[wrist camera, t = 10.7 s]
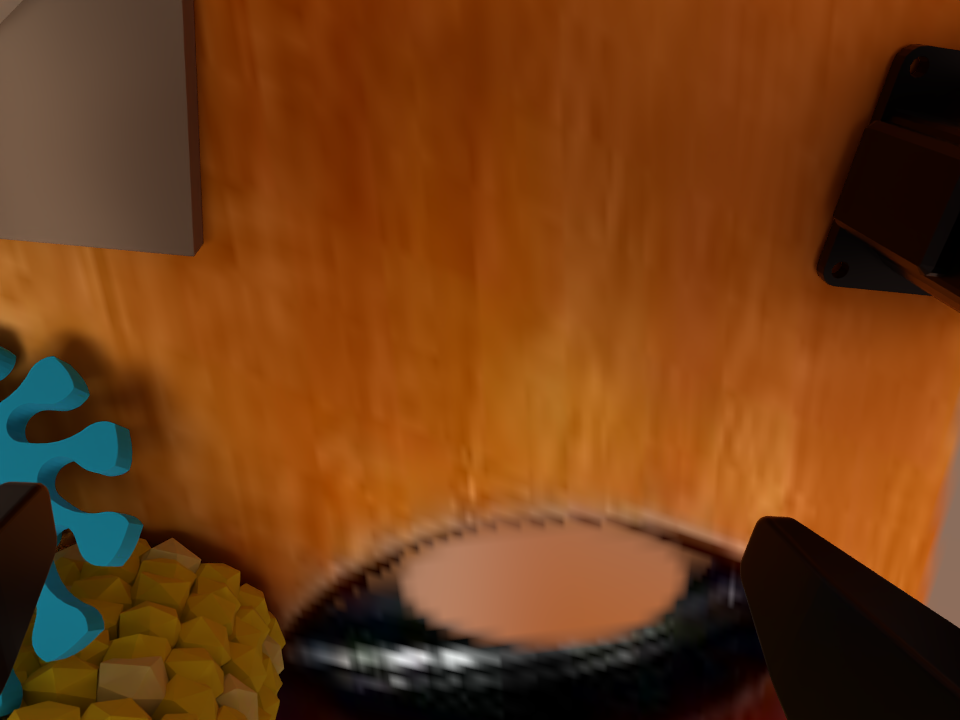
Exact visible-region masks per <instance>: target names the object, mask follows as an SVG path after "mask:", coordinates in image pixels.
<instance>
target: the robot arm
mask: <svg viewBox="0 0 960 720" xmlns="http://www.w3.org/2000/svg"><path fill="white" fill-rule="evenodd" d="M918 57H919V60H920V63H919V67H918V69H917V70H916V72H914V73H913V74H912V75H911V74H910V65H911V64H912V62H913V61H914V60H915V59H916V58H918ZM833 216H834V220H833V223H832V226H831V229H830V231H829V234H828V237H827V239H826V242H825V245H824V247H823V250H822V253H821V255H820V258H819V261H818V263H817V269H816V270H817V274H818V276H819V277H820V278H821V279H822V280H823V281H825V282H826V283H827V284H829V285H832V286H837V287H847V288H858V289H868V290H878V291H888V292H898V293H908V294H918V295H928V296H934V297H935V298H937V299H939V300H940V301H942V302H943V303H945V304H947V305H948V306H950V307H951V308H953V309H955V310H956V311H958V312H959V313H960V51H959V50H953V49H946V48H940V47H933V46H927V45H920V44H913V45H909V46H907V47H905V48H903V49H902V50H901V51H900V52H899V53H898V54H897V55H896V57H895V59H894V61H893V62H892V65H891V68H890V70H889V73H888V76H887V78H886V81H885V84H884V86H883V89H882V92H881V94H880V97H879V100H878V102H877V105H876V108H875V111H874V113H873V116H872V119H871V121H870V124H869V126H868V127H867V128H866V129H865V130H864V133H863V136H862V138H861V141H860V144H859V146H858V149H857V152H856V154H855V157H854V160H853V162H852V165H851V168H850V171H849V173H848V176H847V179H846V181H845V184H844V187H843V189H842V192H841V195H840V198H839V200H838V203H837V206H836V208H835V211H834V214H833ZM839 262H842V264H841V267H840V269H839V270H838V271H836V272H835V273H832V269H833V267H834V266H835V265H836V264H837V263H839ZM56 547H57V534H56V528H55V522H54V516H53V511H52V505H51V499H50V494H49V491H48V489H47V487H46V486H45V485H43V484H41V483H32V482H6V483H3V484H1V485H0V695H1V693H2V691H3V689H4V687H5V685H6V683H7V680H8V678H9V676H10V674H11V671H12V669H13V666H14V664H15V661H16V659H17V656H18V654H19V651H20V648H21V645H22V643H23V640H24V637H25V635H26V632H27V629H28V627H29V624H30V621H31V619H32V616H33V613H34V610H35V608H36V605H37V602H38V600H39V597H40V594H41V592H42V589H43V586H44V584H45V581H46V578H47V575H48V573H49V570H50V567H51V565H52V562H53V559H54V556H55V552H56ZM740 575H741V580H742V584H743V587H744V591H745V594H746V597H747V601H748V604H749V607H750V611H751V614H752V617H753V621H754V624H755V627H756V631H757V634H758V638H759V641H760V644H761V648H762V651H763V654H764V658H765V661H766V664H767V668H768V671H769V674H770V677H771V680H772V683H773V685H774V688H775V690H776V693H777V696H778V698H779V701H780V703H781V706H782V708H783V711H784V713H785V716H786V718H787V720H960V628H958V627H957V626H955V625H954V624H952V623H951V622H949V621H948V620H946V619H944V618H943V617H942V616H940V615H939V614H937V613H936V612H934V611H933V610H931V609H930V608H928V607H926V606H925V605H923V604H922V603H920V602H919V601H917V600H916V599H914V598H913V597H911V596H910V595H908V594H907V593H905V592H904V591H902V590H901V589H899V588H898V587H896V586H895V585H893V584H892V583H890V582H889V581H887V580H886V579H884V578H883V577H881V576H880V575H878V574H877V573H875V572H874V571H872V570H871V569H869V568H868V567H866V566H865V565H863V564H861V563H860V562H858V561H857V560H855V559H854V558H852V557H851V556H849V555H848V554H846V553H845V552H843V551H842V550H840V549H839V548H837V547H836V546H834V545H833V544H831V543H830V542H828V541H827V540H825V539H824V538H822V537H821V536H819V535H818V534H816V533H815V532H813V531H812V530H810V529H809V528H807V527H806V526H804V525H803V524H801V523H799V522H798V521H796V520H795V519H793V518H790V517H776V516H765V517H762V518H760V519H759V520H758V521H757V523H756V525H755V527H754V530H753V532H752V535H751V537H750V540H749V542H748V545H747V547H746V550H745V552H744V555H743V557H742V560H741V565H740Z"/></svg>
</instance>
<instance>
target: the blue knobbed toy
mask: <svg viewBox="0 0 960 720" xmlns="http://www.w3.org/2000/svg"><path fill="white" fill-rule="evenodd" d="M15 362H16V356H15V355H14V354H13V353H12V352H11V351H9V350H7V349H5V348H3V347H1V346H0V381H1V380H2V379H4V378H5V377H6V376H8V375H9V373H10V372H11V371H12V369H13V368H14V365H15ZM89 395H90V393H89V390H88V387H87V385H86V383H85V381H84V380H83V378H82V377H81V376H80V375H79V373H78V372H77V371H76V370H75V369H74V368H73V367H72V366H71V365H70V364H68V363H66V362H64V361H62V360H60V359H58V358H56V357H54V356H51V357H46V358H44V359H42V360H40V361H39V362H37V363H36V364H35V365H34V366H33V367H32V368H31V370H30V371H29V373H28V375H27V377H26V378H25V380H24V381H23V382H22V384H21V385H20V386H19V387H18V388H17V389H16V390H15V391H14V392H13V393H12V394H11V395H10V396H9V397H7V398H6V399H5V400H3V401H2V402H0V485H1V484H3V483H6V482H32V483H41V484H43V485H45V486H46V487H47V489H48V491H49V494H50V499H51V505H52V511H53V516H54V522H55V528H56V534H57V546H58V545H59V543H60V541H61V538H62V531H64V530H66V529H68V528H69V529H70V530H71V531H72V532H73V534H74V536H75V539H76V542H77V545H78V548H79V551H80V553H81V555H82V557H83V558H84V559H85V560H86V561H87V562H89V563H90V564H93V565H96V566H114V567H117V566H123V565H124V564H125V562H126V561H127V560H128V559H129V557H130V556H131V554H132V552H133V551H134V549H135V547H136V544H137V542H138V540H139V537H140V534H141V531H142V528H143V524H142V523H141V521H140V520H139V519H137V518H136V517H134V516H131V515H128V514H122V513H117V512H101V513H86V512H84V511H81V510H79V509H77V508H76V507H74V506H73V505H71V504H70V503H69V502H67V501H66V500H65V499H63V498H62V497H61V496H60V495H59V494H58V493H57V491H56V488H55V480H56V476H57V474H58V472H59V471H60V470H61V468H62V467H64V466H65V465H66V464H68V463H70V462H76V463H77V464H78V465H80V466H81V467H82V468H84V469H86V470H88V471H91V472H95V473H99V474H102V475H106V476H118V475H121V474H124V473H126V472H127V471H129V470H130V466H131V462H132V443H131V437H130V432H129V429H126V428H124V427H122V426H119V425H117V424H114V423H111V422H107V421H101V422H96V423H94V424H91V425H89V426H88V427H86V428H85V429H84V430H82V431H81V432H79V433H77V434H75V435H73V436H71V437H69V438H67V439H64V440H61V441H57V442H52V443H29V442H28V440H27V439H26V435H25V429H26V425H27V423H28V421H29V420H30V418H31V417H32V416H34V415H35V414H36V413H38V412H40V411H44V410H55V411H69V410H73V409H75V408H77V407H79V406H81V405H82V404H83V403H84V402H85V401H86V400H87V399H88V397H89ZM36 607H37V614H36V619H35V624H34V628H33V633H32V645H33V648H34V651H35V652H36V654H37V655H38V656H39V657H40V658H41V659H42V660H44V661H46V662H50V661H55V660H60V659H65V658H68V657H70V656H72V655H75V654H76V653H78V652H79V651H81V650H82V649H84V648H85V647H86V646H87V645H89V644H90V643H91V642H92V641H93V640H94V639H95V638H96V637H97V636H98V635H99V634H100V633H101V632H102V631H103V630H104V620H103V618H102V615H101V614H100V612H99V611H98V610H97V609H96V608H94V607H93V606H91V605H88V604H86V603H84V602H82V601H80V600H79V599H77V598H76V597H75V596H73V595H72V594H71V593H70V592H69V590H68V589H67V588H66V587H65V585H64V584H63V582H62V581H61V579H60V576H59V574H58V572H57V569H56V566H55V563H54V560H53V562H52V565H51V567H50V570H49V573H48V575H47V578H46V581H45V584H44V586H43V589H42V592H41V594H40V597H39V600H38V602H37V605H36ZM22 698H23V689H22V686H21V682H20V681H19V679H18V677H17V676H16V674H15V672H14V669H12V671H11V674H10V676H9V678H8V680H7V683H6V685H5V687H4V689H3V691H2V693H1V695H0V717H3V716H6V715H8V714H11V713H12V712H13V711H14V710H15V709H19V708H20V706H21V702H22Z"/></svg>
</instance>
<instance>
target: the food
mask: <svg viewBox="0 0 960 720" xmlns="http://www.w3.org/2000/svg"><path fill="white" fill-rule="evenodd" d="M53 560H54V563H55V566H56V569H57V572H58V574H59V576H60V579H61V581H62V582H63V584H64V585H65V587H66V588H67V589H68V590H69V592H70V593H71V594H72V595H73V596H75V597H76V598H77V599H79V600H80V601H82V602H84V603H86V604H88V605H91V606H93V607H94V608H96V609H97V610H98V611H99V612H100V614H101V615H102V618H103V620H104V630H103V631H102V632H101V633H100V634H99V635H98V636H97V637H96V638H95V639H94V640H93V641H92V642H91V643H90V644H89V645H87V646H86V647H85V648H84V649H82V650H81V651H79V652H78V653H76V654H75V655H72V656H70V657H68V658H65V659H60V660H55V661H50V662H46V661H44V660H42V659H41V658H40V657H39V656H38V655H37V654H36V652H35V651H34V648H33V645H32V633H33V628H34V624H35V619H36V614H37V607H36V608H35V610H34V613H33V616H32V619H31V621H30V624H29V627H28V629H27V632H26V635H25V637H24V640H23V643H22V645H21V648H20V651H19V654H18V656H17V659H16V661H15V664H14V666H13V669H14V672H15V674H16V676H17V677H18V679H19V681H20V682H21V686H22V689H23V698H22V702H21V706H20V708H19V709H15V710H14V711H13V712H12V713H11V714H8V715H6V716H3V717H0V720H275V718H276V714H277V710H278V706H279V702H280V700H279V699H278V698H277V692H278V691H279V689H280V687H281V686H282V684H283V683H282V681H281V679H280V677H279V675H278V674H279V673H280V672H281V671H282V670H283V669H284V665H283V658H282V651H281V649H282V648H283V647H284V645H285V644H286V642H285V640H284V637H283V635H282V632H281V630H280V627H279V625H278V622H277V620H276V618H275V617H274V616H273V615H272V614H271V613H270V612H268V609H267V605H266V602H265V598H264V594H263V592H262V591H260V590H258V589H256V588H254V587H253V586H251V585H249V584H247V583H246V584H244V585H242V586H241V587H240V571H239V570H237V569H235V568H232V567H230V566H228V565H226V564H224V563H203V564H200V562H201V559H200V558H199V557H197V556H196V555H195V554H193V553H192V552H191V551H189V550H188V549H187V548H185V547H184V546H183V545H182V544H180V543H179V542H178V541H176V540H175V539H174V538H171V539H169V540H167V541H165V542H163V543H161V544H159V545H157V546H155V547H153V548H151V547H150V546H149V544H148V542H147V541H146V540H145V539H141V538H139V540H138V542H137V544H136V547H135V549H134V551H133V552H132V554H131V556H130V557H129V559H128V560H127V561H126V562H125V564H124V565H123V566H117V567H114V566H96V565H93V564H90V563H89V562H87V561H86V560H85V559H84V558H83V557H82V555H81V553H80V551H79V548H78V545H77V543H76V544H74V545H72V546H70V547H68V548H65V549H63V550H61V551H59V552H56V553H55V556H54V559H53Z"/></svg>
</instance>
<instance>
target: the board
mask: <svg viewBox="0 0 960 720" xmlns="http://www.w3.org/2000/svg"><path fill="white" fill-rule="evenodd" d="M0 239H10V240H20V241H31V242H42V243H53V244H64V245H75V246H86V247H96V248H107V249H118V250H129V251H140V252H151V253H161V254H172V255H183V256H195V254H196V253H197V251H198V250H199V249H200V247H201V246H202V244H203V225H202V200H201V175H200V150H199V126H198V101H197V76H196V51H195V27H194V2H193V0H23V1H22V2H21V3H20V4H19V5H18V6H17V7H16V8H15V9H14V10H13V11H12V12H11V13H10V14H9V15H8V16H7V17H6V18H5V19H4V20H3V21H2V22H1V23H0Z"/></svg>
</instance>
